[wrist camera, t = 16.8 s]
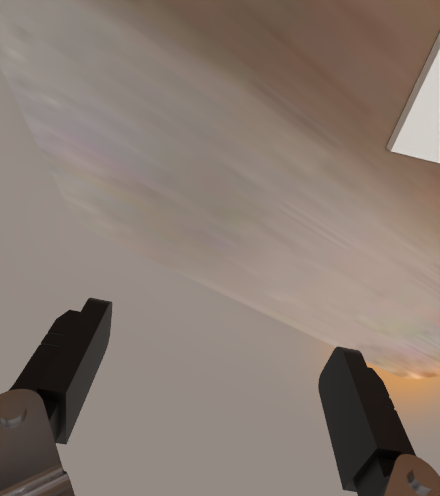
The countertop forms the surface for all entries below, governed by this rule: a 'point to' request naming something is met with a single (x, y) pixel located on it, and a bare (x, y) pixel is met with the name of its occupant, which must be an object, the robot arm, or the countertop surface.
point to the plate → (421, 114)
